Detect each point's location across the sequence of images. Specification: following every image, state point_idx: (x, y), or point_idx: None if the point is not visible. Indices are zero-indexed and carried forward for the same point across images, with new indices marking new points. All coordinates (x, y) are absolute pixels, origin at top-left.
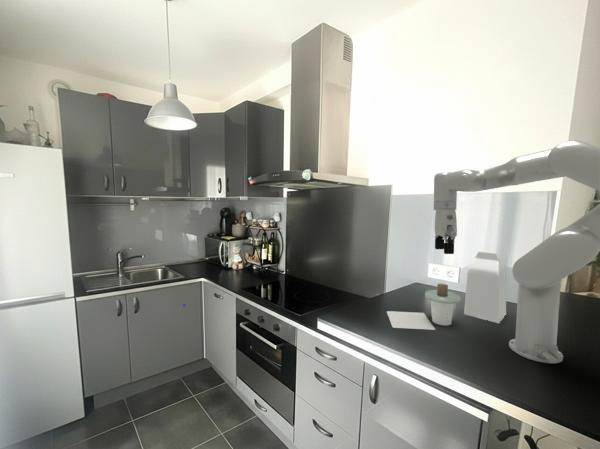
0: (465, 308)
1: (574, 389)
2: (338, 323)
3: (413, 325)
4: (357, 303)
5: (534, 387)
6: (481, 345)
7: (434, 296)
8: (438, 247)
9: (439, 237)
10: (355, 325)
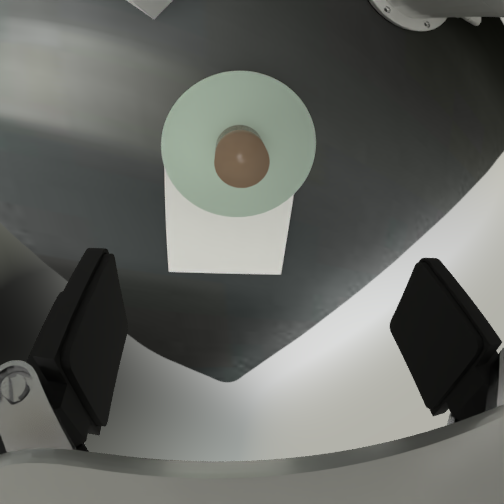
0: (151, 12)
1: (498, 42)
2: (252, 363)
3: (268, 220)
4: None
5: (493, 99)
6: (378, 83)
7: (258, 189)
8: (118, 318)
9: (69, 430)
10: (261, 339)
